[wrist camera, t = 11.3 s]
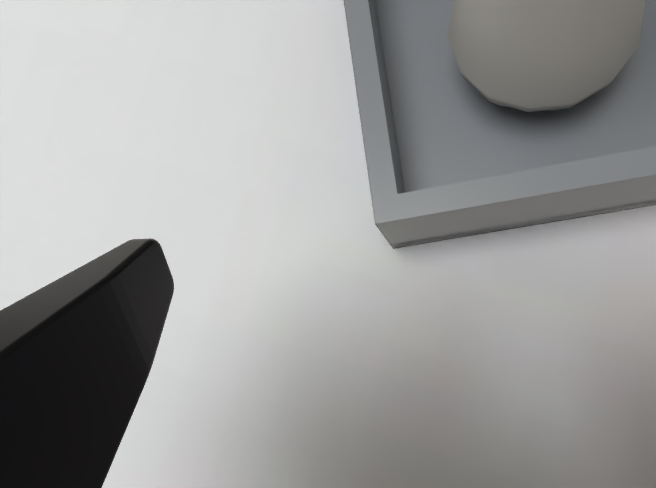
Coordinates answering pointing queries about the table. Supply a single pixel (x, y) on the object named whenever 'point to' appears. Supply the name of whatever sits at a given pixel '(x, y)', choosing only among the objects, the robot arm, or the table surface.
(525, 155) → the box
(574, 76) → the salt shaker
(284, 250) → the table surface
